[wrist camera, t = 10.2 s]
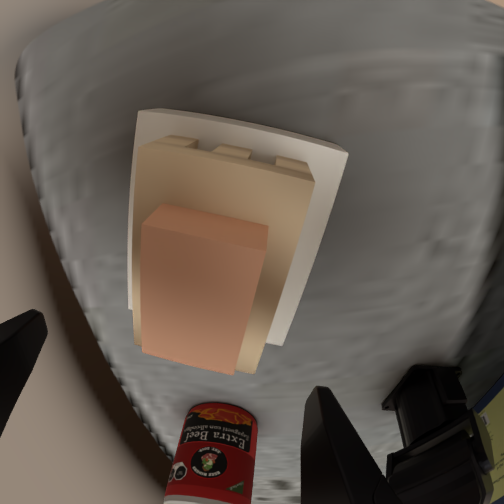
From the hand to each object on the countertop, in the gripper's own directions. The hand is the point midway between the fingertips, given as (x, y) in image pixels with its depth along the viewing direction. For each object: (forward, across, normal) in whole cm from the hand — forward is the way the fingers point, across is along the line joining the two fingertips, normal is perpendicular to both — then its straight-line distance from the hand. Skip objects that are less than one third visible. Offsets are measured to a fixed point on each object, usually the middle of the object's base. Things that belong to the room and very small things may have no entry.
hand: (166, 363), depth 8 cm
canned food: (+11, -3, +22) cm, 25 cm away
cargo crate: (+5, 0, 0) cm, 5 cm away
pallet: (+8, 0, 0) cm, 8 cm away
